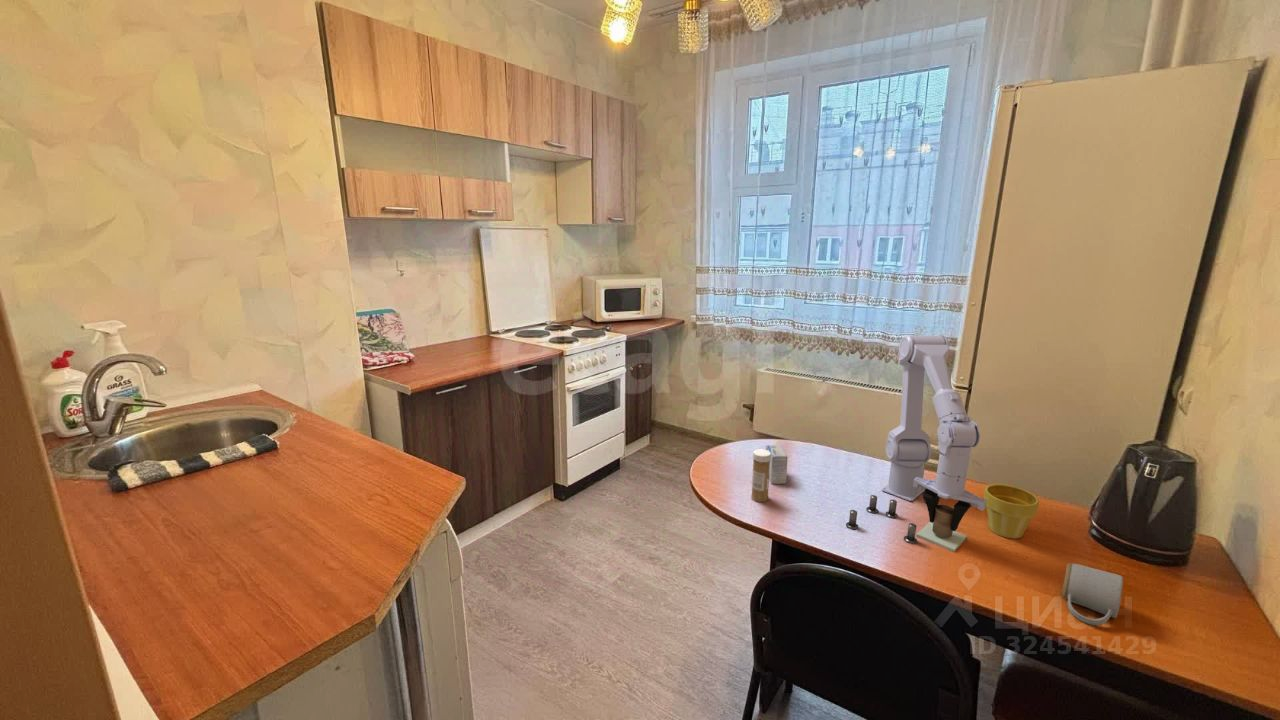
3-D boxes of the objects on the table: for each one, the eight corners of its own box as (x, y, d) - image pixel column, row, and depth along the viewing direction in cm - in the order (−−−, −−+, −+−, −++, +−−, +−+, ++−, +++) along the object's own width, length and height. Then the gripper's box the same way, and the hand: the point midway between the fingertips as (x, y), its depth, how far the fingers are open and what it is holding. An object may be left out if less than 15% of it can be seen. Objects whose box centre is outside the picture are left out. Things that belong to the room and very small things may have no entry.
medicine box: (786, 484, 144) (788, 456, 142) (770, 484, 144) (772, 456, 142) (779, 471, 152) (781, 444, 149) (764, 471, 152) (765, 444, 149)
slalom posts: (872, 504, 133) (873, 490, 132) (931, 528, 122) (934, 513, 121) (843, 526, 124) (845, 511, 123) (905, 553, 113) (908, 537, 112)
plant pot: (968, 520, 126) (974, 484, 123) (1007, 517, 127) (1014, 482, 124) (1001, 545, 116) (1009, 506, 113) (1043, 542, 117) (1051, 504, 114)
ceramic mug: (1061, 584, 103) (1069, 552, 101) (1116, 604, 98) (1125, 569, 96) (1057, 614, 95) (1065, 579, 93) (1116, 637, 90) (1126, 600, 88)
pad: (929, 523, 124) (930, 521, 124) (966, 537, 119) (966, 535, 118) (916, 536, 119) (916, 534, 119) (954, 551, 113) (954, 549, 113)
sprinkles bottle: (771, 499, 136) (774, 453, 133) (759, 504, 134) (762, 457, 130) (759, 492, 140) (761, 447, 136) (747, 496, 137) (749, 451, 134)
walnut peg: (936, 525, 121) (939, 502, 120) (955, 532, 118) (958, 509, 117) (929, 531, 119) (932, 508, 117) (948, 539, 116) (952, 516, 114)
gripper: (911, 466, 117) (903, 518, 121) (983, 489, 107) (972, 545, 110) (923, 457, 122) (915, 507, 125) (993, 478, 111) (983, 533, 115)
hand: (943, 524), depth 118 cm, fingers closed on walnut peg, 4 cm apart
